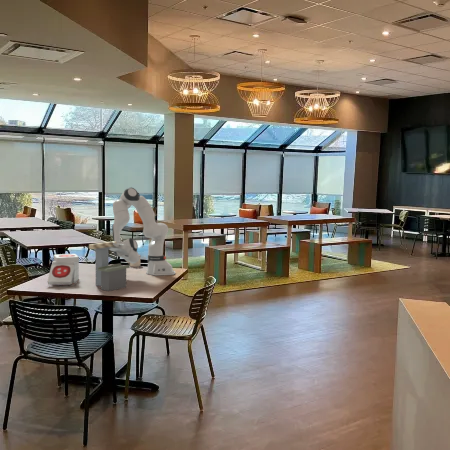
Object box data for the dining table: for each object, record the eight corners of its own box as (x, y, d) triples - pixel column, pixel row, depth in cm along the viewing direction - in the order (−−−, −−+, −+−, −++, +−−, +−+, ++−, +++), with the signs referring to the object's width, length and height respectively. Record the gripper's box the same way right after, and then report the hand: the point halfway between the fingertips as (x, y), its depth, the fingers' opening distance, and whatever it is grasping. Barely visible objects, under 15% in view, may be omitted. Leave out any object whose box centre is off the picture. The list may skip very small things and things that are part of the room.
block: (113, 245, 352) (113, 241, 351) (116, 245, 350) (116, 241, 350) (89, 248, 333) (89, 244, 333) (92, 249, 332) (92, 244, 331)
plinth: (102, 283, 349) (102, 246, 346) (110, 284, 344) (110, 247, 342) (93, 285, 342) (93, 247, 340) (101, 286, 338) (101, 248, 335)
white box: (44, 287, 332) (44, 260, 331) (55, 278, 362) (55, 253, 360) (74, 287, 334) (73, 260, 332) (82, 278, 364) (82, 253, 362)
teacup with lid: (141, 265, 423) (141, 251, 422) (139, 267, 414) (139, 253, 412) (126, 265, 422) (126, 251, 421) (125, 266, 413) (125, 252, 412)
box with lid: (119, 284, 345) (119, 263, 344) (129, 286, 340) (129, 264, 339) (97, 289, 328) (97, 267, 327) (107, 291, 323) (107, 269, 322)
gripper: (114, 245, 364) (101, 237, 354) (134, 248, 353) (122, 240, 343) (110, 253, 362) (98, 245, 352) (131, 256, 351) (119, 248, 341)
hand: (110, 243), depth 347 cm, fingers closed on block, 3 cm apart
